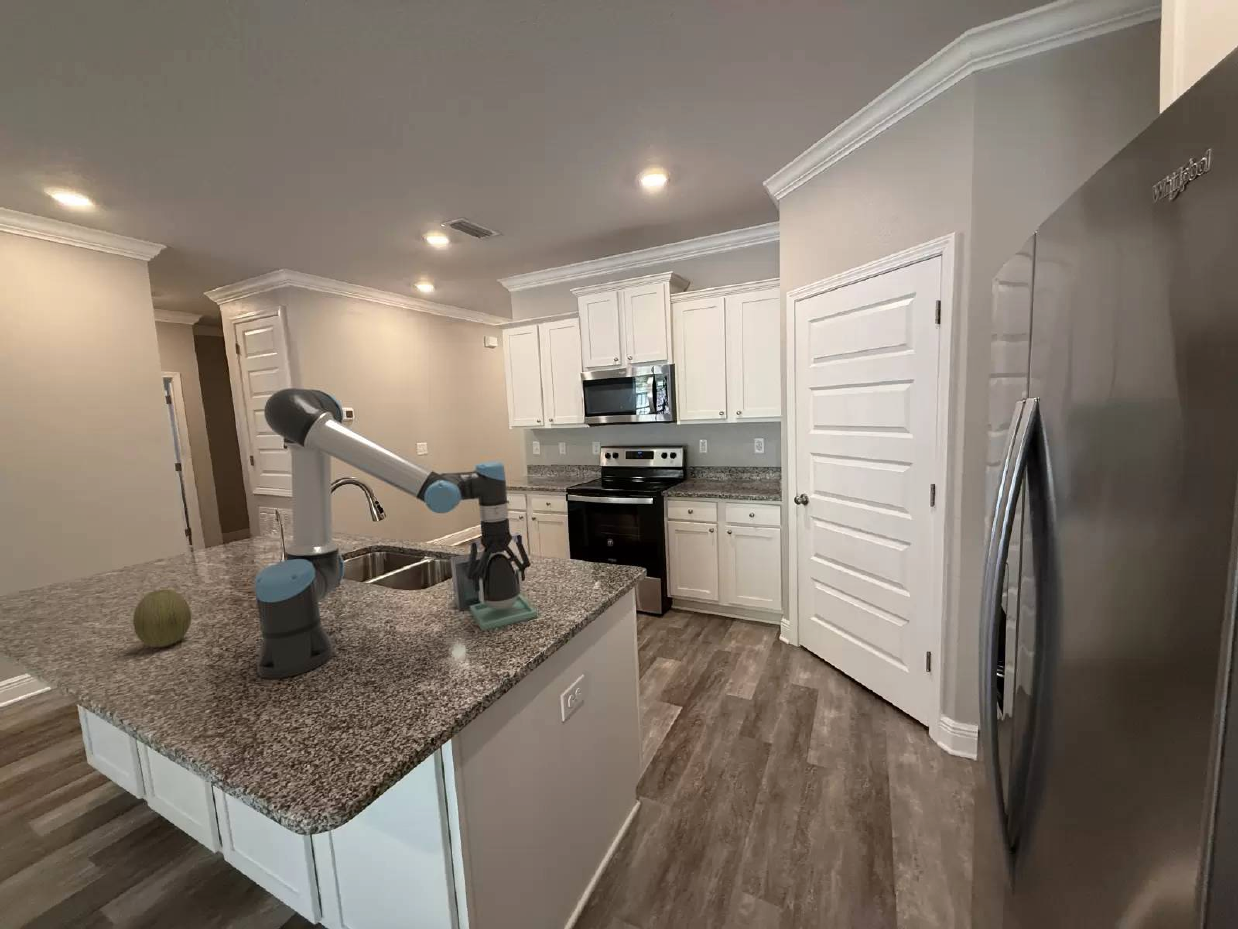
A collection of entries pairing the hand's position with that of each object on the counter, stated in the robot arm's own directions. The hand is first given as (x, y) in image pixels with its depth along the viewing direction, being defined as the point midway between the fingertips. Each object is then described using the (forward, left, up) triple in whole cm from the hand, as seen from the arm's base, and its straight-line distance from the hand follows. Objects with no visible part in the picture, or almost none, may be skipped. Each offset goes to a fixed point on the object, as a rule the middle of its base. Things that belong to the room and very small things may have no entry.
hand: (501, 597), depth 138 cm
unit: (-3, +14, -5) cm, 15 cm away
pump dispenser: (0, 0, -3) cm, 3 cm away
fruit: (-81, +34, -5) cm, 88 cm away
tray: (0, 0, -5) cm, 5 cm away
